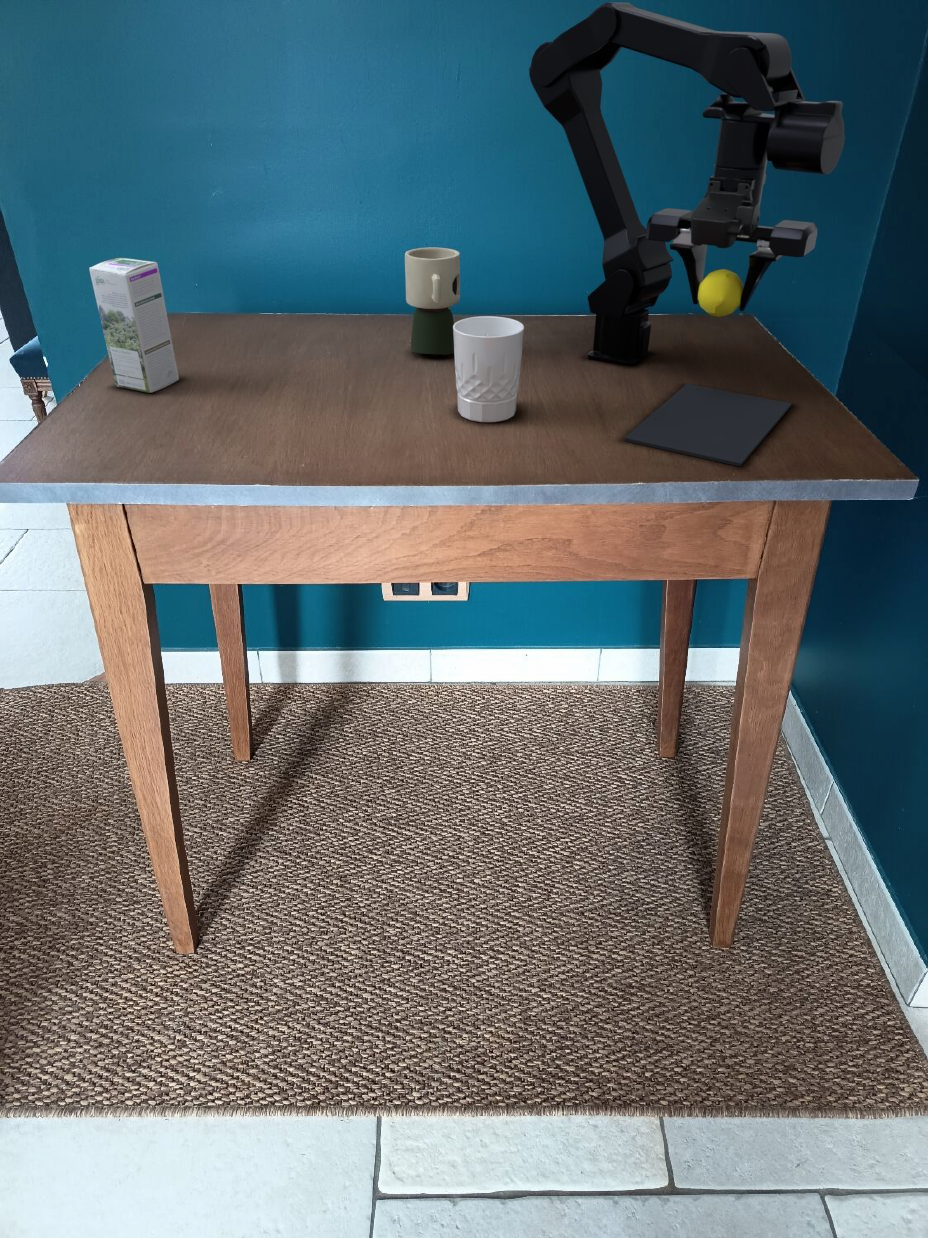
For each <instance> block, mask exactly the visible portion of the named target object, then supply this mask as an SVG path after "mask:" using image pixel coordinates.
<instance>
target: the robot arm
mask: <svg viewBox="0 0 928 1238" xmlns="http://www.w3.org/2000/svg"><path fill="white" fill-rule="evenodd" d="M622 48H624V49H627V50H630V51H633V52H636V53H640V54H643V55H645V56H650V57H651V58H655V59H658V60H661V61H665V62H669V63H672V64H674V65H677V66H680V67H684V68H687V69H689V70H692V71H694V72H695V73H697V74H699V75H700V76H701V77H702V78H703V79H704V80H705V82H707V83H708V84H710V85H711V86H712V87H715V88H716V89H718V90H720V91H721V92H723V93H719V95H718V96H717V98H716V99H715V100H714V102H713V103H712V104H709V106H708V107H706V108H705V109H704V110H702V113H701V114H702V118H704V119H713V120H715V119H716V120H719V126H718V135H717V142H716V149H715V156H714V164H713V169H712V176H710V177H709V181H708V183H707V190H706V192H705V194H704V196H703V198H702V199H701V200H700V202H699V203H698V204H697V206H696V207H695V209H694V210H689V209H681V208H670V207H666V208H664V209H661V210H659V211H657V212H655V213H653V214H652V215H650V217H649V218H648V220H647V223H646V227H645V225H643V224H642V222H641V220H640V218H639V214H638V212H637V209H636V206H635V204H634V199H633V197H632V195H631V192H630V189H629V186H628V183H627V180H626V178H625V175H624V172H623V170H622V167H621V164H620V162H619V159H618V156H617V153H616V150H615V148H614V144H613V142H612V138H611V136H610V133H609V130H608V127H607V125H606V121H605V119H604V116H603V114H602V110H601V109H602V107H601V106H602V92H603V80H602V74H601V71H603V70H604V69H605V68H606V67H607V66H608V65H610V64H611V63H612V62H613V61H614V59H615V58H616V56H617V55H618V53H619V52H620V51H621V49H622ZM792 61H793V60H792V51H791V49H790V46H789V42H788V40H787V39H786V38H785V37H784V36H783V35H780V34H778V33H771V32H769V33H768V32H753V31H721V30H720V31H719V30H715V29H711V28H707V27H704V26H701V25H697V24H693V23H690V22H686V21H683V20H680V19H677V18H673V17H669V16H666V15H662V14H659V13H655V12H652V11H649V10H646V9H642V8H639V7H636V6H634V5H633V4H632V3H630V2H605V3H602V4H601V5H600V6H598V7H597V8H596V9H594V11H592V13H591V14H589V15H587V17H586V18H585V19H583V20H581V21H580V22H578V23H576V24H575V25H573V26H572V27H570V28H568V29H567V30H564V31H563V32H562V33H560V34H559V35H558V36H557V37H556V38H554V39H553V40H552V41H545V42H544V43H542V44H540V45H539V46H538V47H537V48H536V49H535V51H534V53H533V55H532V57H531V63H530V66H529V67H528V76H529V81H530V84H531V86H532V88H533V90H534V92H535V93H536V96H537V97H538V99H539V101H540V103H541V105H542V106H543V108H544V109H545V110H546V111H547V112H548V113H549V115H551V117H553V119H554V120H556V121H557V123H558V124H559V125H560V126H561V127H562V129H563V131H564V133H565V136H566V139H567V142H568V144H569V147H570V150H571V152H572V155H573V159H574V161H575V163H576V166H577V170H578V171H579V174H580V177H581V180H582V183H583V185H584V188H585V191H586V194H587V196H588V199H589V202H590V205H591V207H592V210H593V213H594V216H595V218H596V221H597V224H598V226H599V230H600V232H601V234H602V238H603V249H602V261H601V267H602V272H603V276H604V279H605V280H603V282H602V283H600V284H599V285H598V286H597V287H596V288H595V289H594V290H593V291H591V293H590V294H589V295H587V303H588V308H589V312H590V313H591V314H593V315H595V322H594V334H593V344H592V345H593V346H592V350H591V351H589V352H588V353H587V358H589V359H594V360H599V361H604V362H610V363H615V364H621V365H626V366H633V365H634V364H636V363H637V362H639V361H640V360H641V359H642V358H644V357H645V356H647V355H648V354H649V353H650V349H649V347H650V338H651V329H652V323H651V322H650V321H649V316H650V315H649V314H650V309H648V308H651V307H655V305H656V303H657V301H658V299H659V297H660V295H661V294H663V293H664V292H666V290H667V288H668V287H669V284H670V282H671V279H672V278H673V269H672V265H671V262H674V258H673V256H672V255H671V253H670V252H669V250H671V251H676V252H677V253H678V255H679V256H680V258H681V260H682V262H683V265H684V268H685V271H686V275H687V280H688V286H689V290H690V294H691V299H692V304H693V305H698V304H699V300H698V291H699V286H700V283H701V282H702V281H703V280H704V278H705V277H704V276H705V268H706V267H705V266H706V258H707V250H708V246H711V247H712V246H714V247H716V248H718V249H729V248H731V247H732V246H733V245H734V244H735V242H743V243H751V244H756V247H757V249H756V250H755V251H754V252H752V253H750V254H749V255H748V269H747V273H746V277H745V281H744V284H743V292H742V296H741V301H740V305H739V311H740V312H744V311H745V310H746V308H747V307H748V305H749V303H750V301H751V299H752V297H753V295H754V293H755V292H756V290H757V288H758V286H759V284H760V282H761V281H762V279H763V277H764V275H765V273H766V272H767V271H768V269H769V268H770V266H771V264H772V263H774V262H777V261H778V260H779V259H781V258H783V257H791V258H792V257H793V258H804V257H806V256H807V255H808V254H809V253H811V252H812V251H813V250H814V249H815V247H816V242H817V237H818V228H817V226H816V224H815V222H809V221H799V220H789V219H783V220H782V221H780V222H779V223H777V224H776V225H774V226H766V225H759V222H760V217H761V212H760V211H761V210H760V209H761V201H762V196H763V195H762V194H763V188H764V185H765V184H766V180H767V173H766V171H767V164H768V162H771V164H772V167H773V168H774V169H775V170H777V171H778V170H779V171H787V172H798V173H807V174H813V175H814V174H815V175H824V176H825V175H826V176H827V175H829V174H831V173H832V172H833V170H834V169H835V168H836V167H837V164H838V162H839V160H840V158H841V156H842V152H843V148H844V145H845V142H846V141H845V140H846V135H845V122H844V118H843V115H842V111H843V110H842V109H843V107H844V103H843V101H842V100H841V101H839V100H829V101H822V102H821V101H806V98H805V96H804V94H803V92H802V89H801V87H800V85H799V82H798V79H797V77H796V75H795V73H794V70H793V68H792ZM734 98H736V99H743V100H744V101H745V102H743V101H736V100H735V99H734ZM763 112H774V114H771V113H763ZM670 242H671V243H670ZM667 243H670V244H669V250H668V246H667Z"/></svg>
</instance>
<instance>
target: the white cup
mask: <svg viewBox="0 0 928 1238" xmlns="http://www.w3.org/2000/svg"><path fill="white" fill-rule="evenodd" d="M524 333H525V326H524V324H523V323H522V322H521V321H519V320H516V319H513V318H509V317H503V316H496V315H495V316H493V315H480V316H471V317H466V318H462V319H459V320H458V321H455V322H454V325H453V336H454V353H453V355H454V357H453V359H454V372H455V387H456V391H457V395H456V396H457V412H458V413H459V414H460V416H461V417H463V418H464V419H467V420H469V421H473V422H479V423H497V422H502V421H506V420H509V419H511V418H512V417H514V416H515V413H516V412H517V406H518V405H517V404H518V392H519V389H520V379H521V369H522V359H523V345H524Z"/></svg>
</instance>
